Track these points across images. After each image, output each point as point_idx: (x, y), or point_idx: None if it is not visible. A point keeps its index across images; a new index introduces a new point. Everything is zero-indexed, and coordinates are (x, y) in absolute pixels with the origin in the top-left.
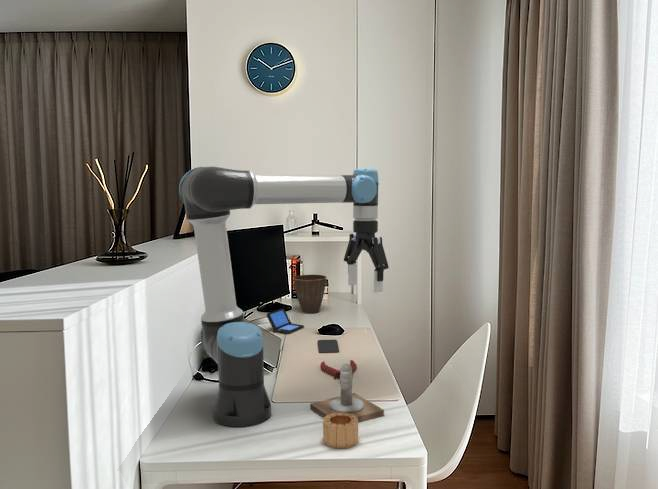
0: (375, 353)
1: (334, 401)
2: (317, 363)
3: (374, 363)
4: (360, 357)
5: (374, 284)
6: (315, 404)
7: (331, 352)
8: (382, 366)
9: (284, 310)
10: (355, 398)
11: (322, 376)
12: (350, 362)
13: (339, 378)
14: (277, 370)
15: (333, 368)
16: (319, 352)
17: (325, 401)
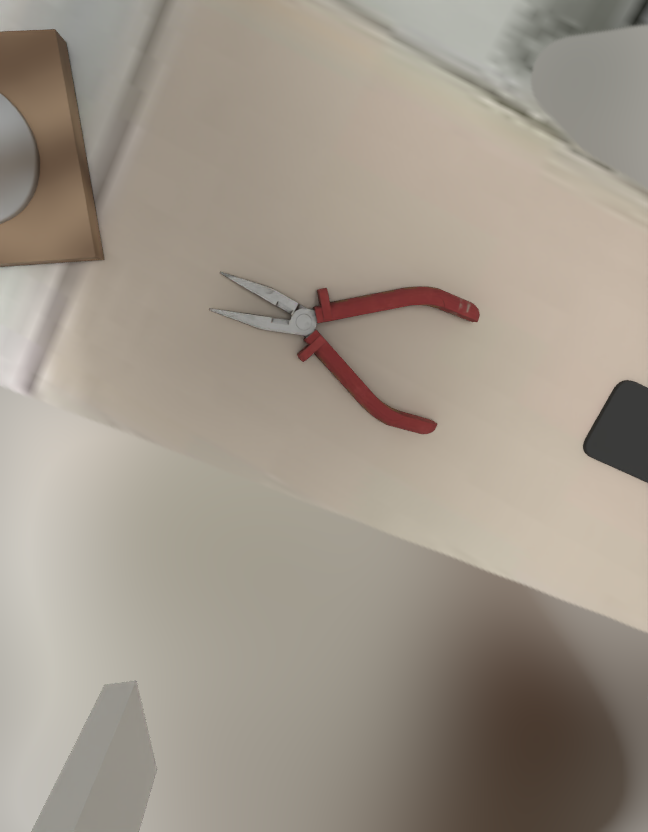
0: (495, 563)
1: (2, 116)
2: (516, 314)
3: (400, 507)
4: (486, 494)
5: (79, 781)
6: (35, 44)
7: (595, 423)
8: (357, 516)
9: None
10: (3, 214)
11: (371, 261)
12: (430, 421)
13: (313, 308)
14: (531, 118)
15: (373, 311)
16: (625, 381)
17: (52, 101)
